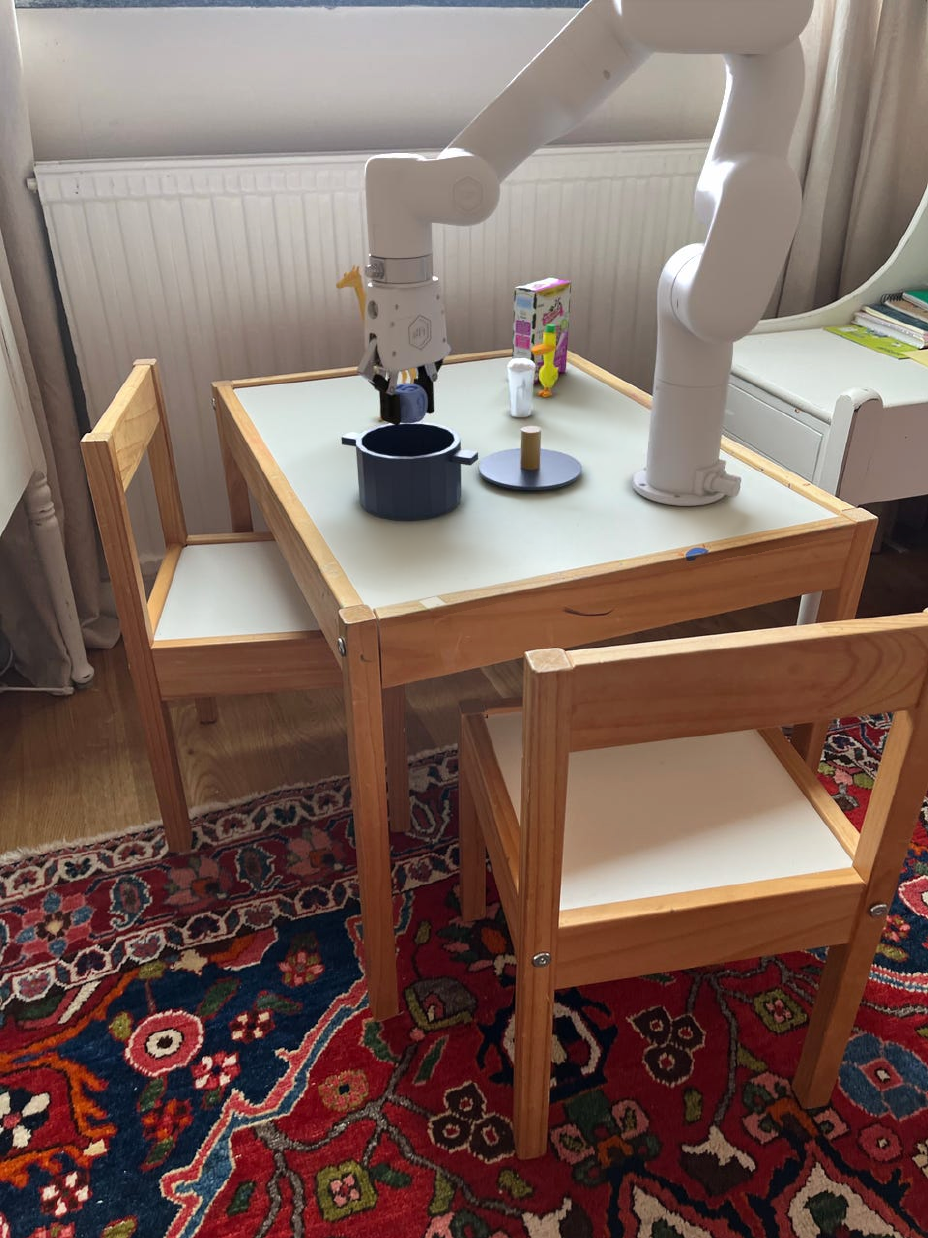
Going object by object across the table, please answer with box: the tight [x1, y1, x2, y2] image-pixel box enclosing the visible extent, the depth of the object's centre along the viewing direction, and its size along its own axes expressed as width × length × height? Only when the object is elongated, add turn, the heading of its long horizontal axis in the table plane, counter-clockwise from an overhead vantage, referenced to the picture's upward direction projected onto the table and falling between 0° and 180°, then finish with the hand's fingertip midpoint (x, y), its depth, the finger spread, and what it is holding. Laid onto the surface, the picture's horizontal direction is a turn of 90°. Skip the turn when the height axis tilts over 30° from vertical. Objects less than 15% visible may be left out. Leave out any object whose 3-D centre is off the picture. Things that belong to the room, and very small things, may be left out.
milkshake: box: [506, 355, 541, 418], centre depth 157 cm, size 5×5×10 cm
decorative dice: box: [395, 382, 428, 423], centre depth 124 cm, size 4×4×4 cm
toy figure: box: [531, 324, 559, 398], centre depth 165 cm, size 7×4×12 cm, turn 133°
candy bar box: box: [511, 277, 572, 384], centre depth 173 cm, size 11×5×16 cm, turn 141°
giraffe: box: [335, 264, 418, 424], centre depth 151 cm, size 16×4×25 cm, turn 141°
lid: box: [478, 425, 583, 491], centre depth 136 cm, size 15×15×7 cm
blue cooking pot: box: [340, 421, 479, 522], centre depth 128 cm, size 14×19×8 cm
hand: (407, 414), depth 124 cm, fingers closed on decorative dice, 5 cm apart
